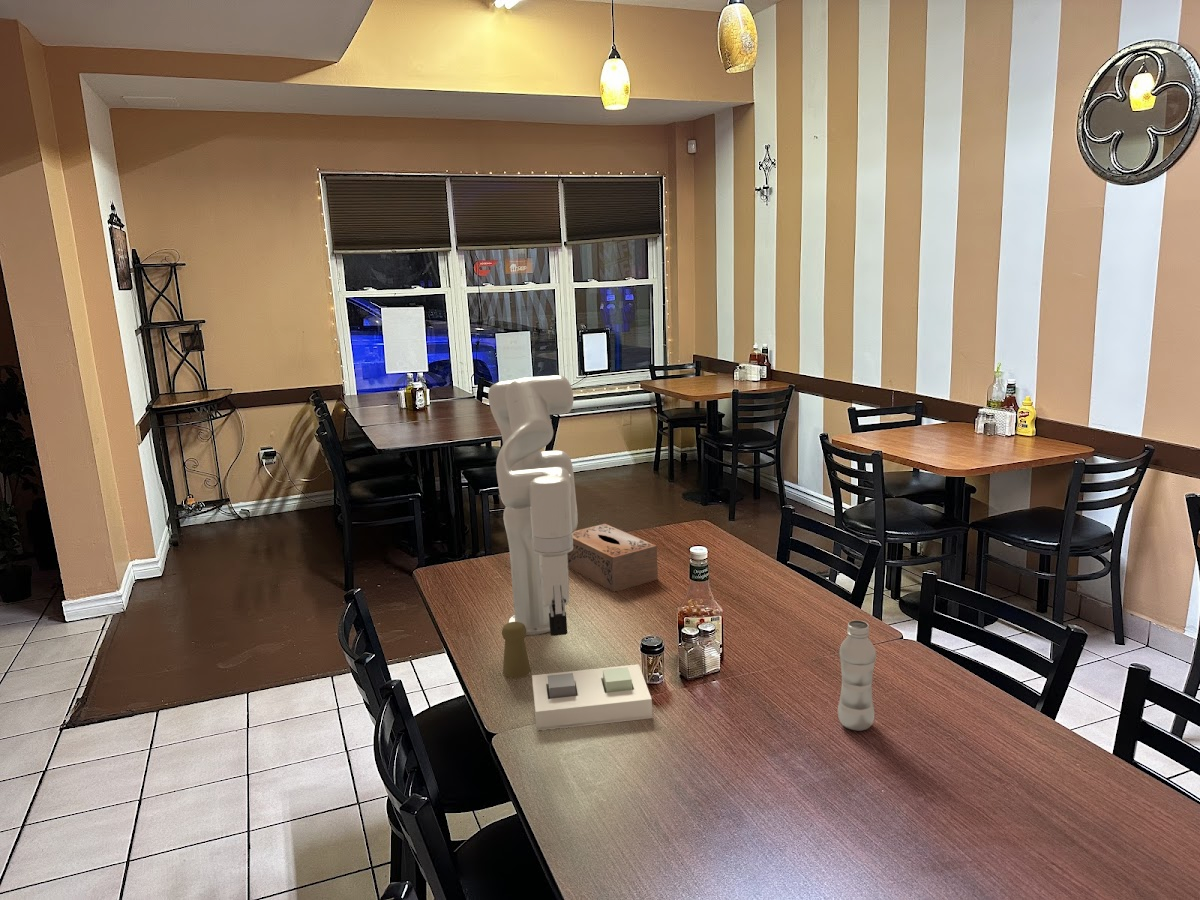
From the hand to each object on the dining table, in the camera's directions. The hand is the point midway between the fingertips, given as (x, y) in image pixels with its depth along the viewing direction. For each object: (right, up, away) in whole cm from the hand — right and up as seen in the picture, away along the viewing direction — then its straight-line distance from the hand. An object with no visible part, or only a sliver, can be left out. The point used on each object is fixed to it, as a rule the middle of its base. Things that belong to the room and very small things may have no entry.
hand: (558, 633), depth 153 cm
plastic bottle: (+55, -16, -6) cm, 57 cm away
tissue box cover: (+11, 0, +74) cm, 75 cm away
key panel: (+6, -15, +5) cm, 17 cm away
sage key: (+11, -12, +5) cm, 17 cm away
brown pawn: (-10, -13, +20) cm, 25 cm away
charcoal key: (+1, -13, +3) cm, 13 cm away
